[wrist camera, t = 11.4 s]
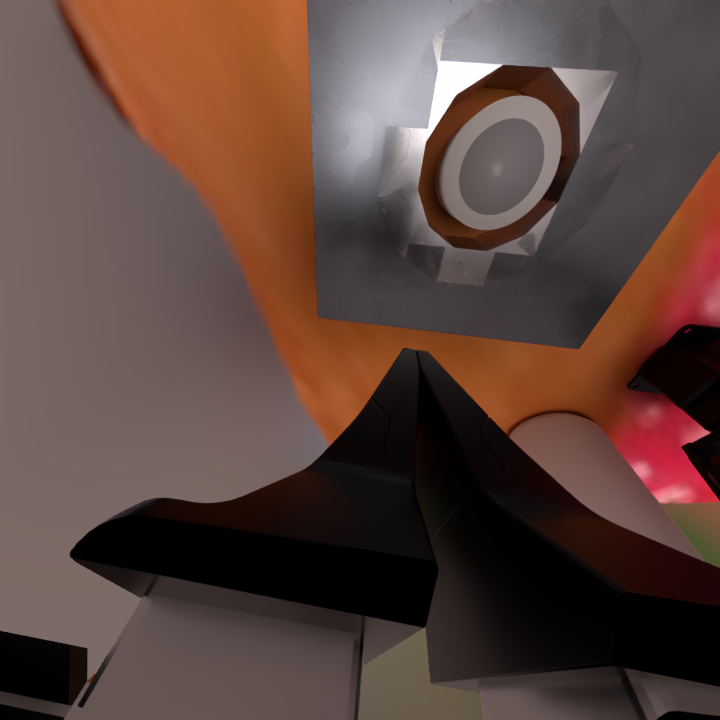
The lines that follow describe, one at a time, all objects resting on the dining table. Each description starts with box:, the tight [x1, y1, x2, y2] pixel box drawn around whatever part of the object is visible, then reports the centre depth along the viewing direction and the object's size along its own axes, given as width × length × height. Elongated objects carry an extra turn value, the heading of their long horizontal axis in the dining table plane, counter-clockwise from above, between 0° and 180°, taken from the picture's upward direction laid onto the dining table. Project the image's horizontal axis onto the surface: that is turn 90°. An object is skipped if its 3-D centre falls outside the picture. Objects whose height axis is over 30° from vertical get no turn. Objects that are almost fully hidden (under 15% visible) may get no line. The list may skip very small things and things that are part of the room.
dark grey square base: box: [307, 0, 720, 349], centre depth 14 cm, size 18×18×4 cm
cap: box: [434, 96, 562, 230], centre depth 14 cm, size 5×5×4 cm
